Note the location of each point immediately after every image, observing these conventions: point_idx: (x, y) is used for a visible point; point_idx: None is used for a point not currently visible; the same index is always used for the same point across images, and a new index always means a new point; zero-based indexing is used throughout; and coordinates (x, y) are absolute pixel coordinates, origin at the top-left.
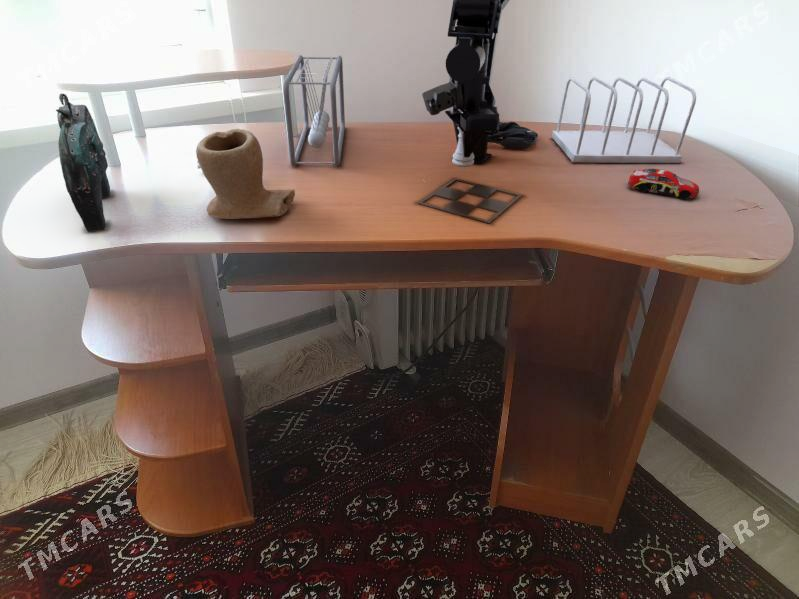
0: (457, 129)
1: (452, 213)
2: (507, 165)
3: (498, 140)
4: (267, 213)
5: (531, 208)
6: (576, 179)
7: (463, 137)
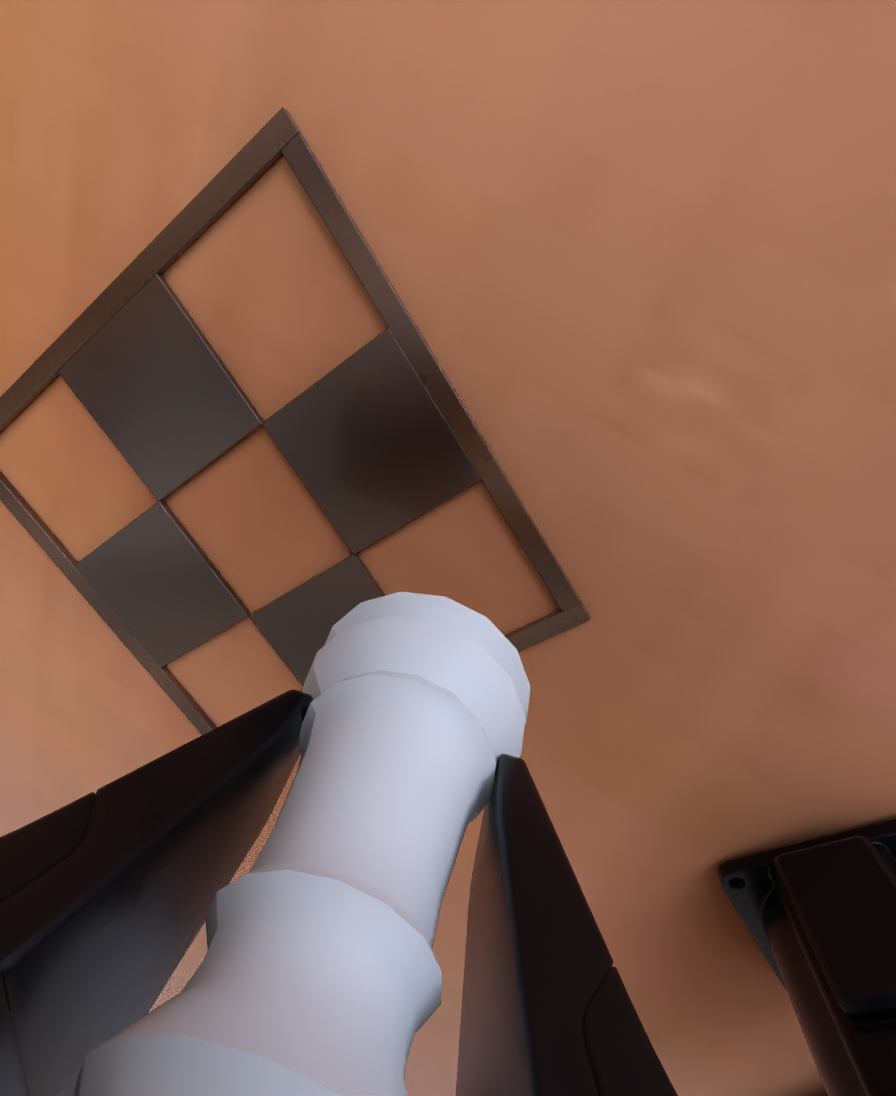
0: (518, 1050)
1: (95, 307)
2: (620, 953)
3: None
4: None
5: (109, 721)
6: None
7: (27, 860)
